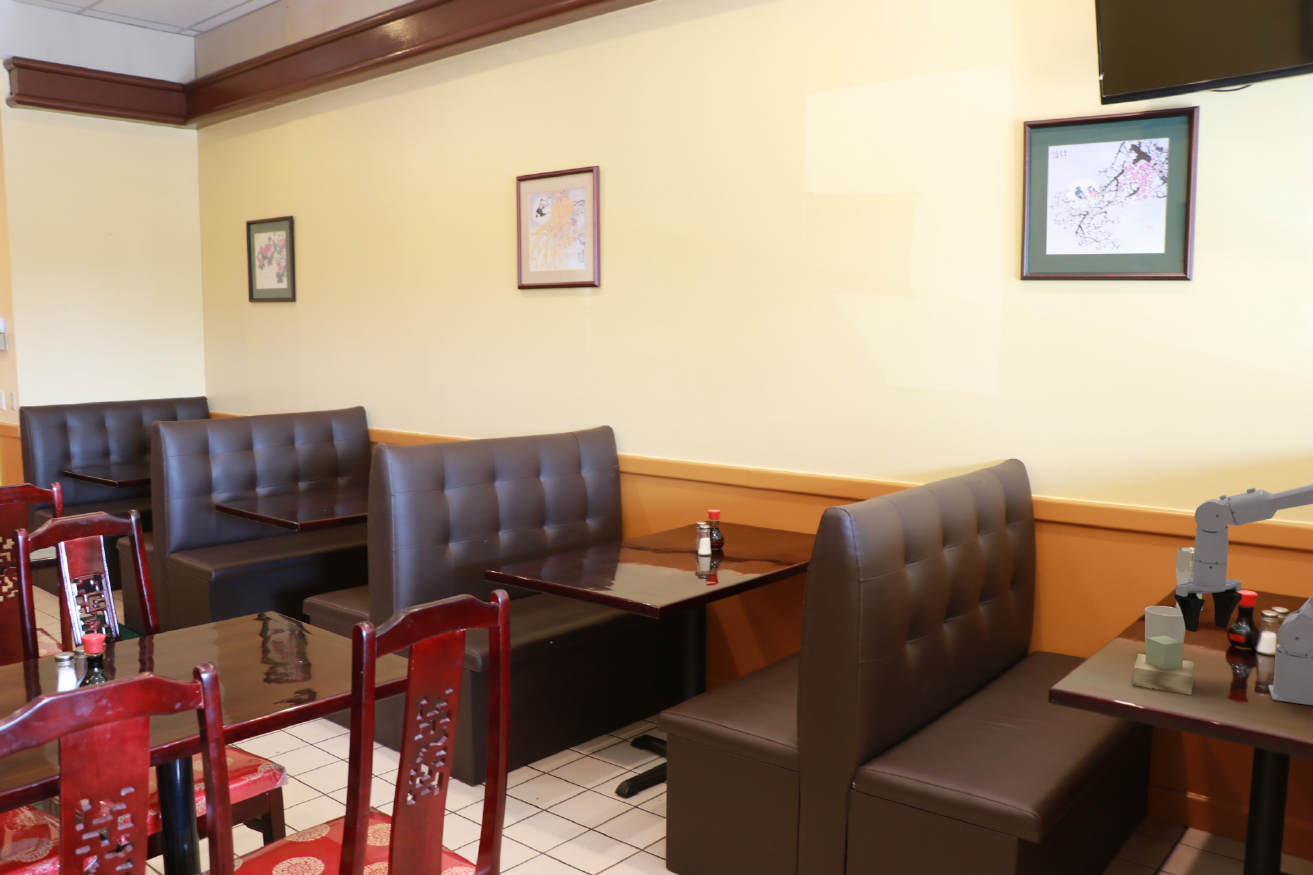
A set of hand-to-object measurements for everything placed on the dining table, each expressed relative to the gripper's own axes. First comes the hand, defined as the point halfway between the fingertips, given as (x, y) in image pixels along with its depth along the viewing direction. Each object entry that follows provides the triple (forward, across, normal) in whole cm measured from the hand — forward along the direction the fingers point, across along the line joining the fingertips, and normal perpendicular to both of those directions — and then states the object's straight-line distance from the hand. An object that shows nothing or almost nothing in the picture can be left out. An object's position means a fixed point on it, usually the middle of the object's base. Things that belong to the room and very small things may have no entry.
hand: (1206, 628), depth 195 cm
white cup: (+11, -4, -14) cm, 18 cm away
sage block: (+7, +9, -1) cm, 11 cm away
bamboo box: (+11, +8, -2) cm, 14 cm away
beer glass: (+11, -41, -42) cm, 60 cm away
